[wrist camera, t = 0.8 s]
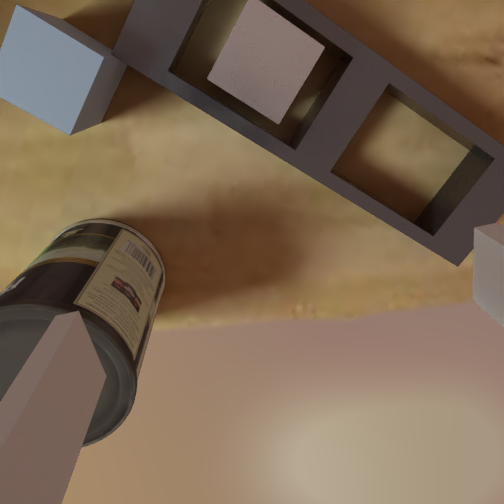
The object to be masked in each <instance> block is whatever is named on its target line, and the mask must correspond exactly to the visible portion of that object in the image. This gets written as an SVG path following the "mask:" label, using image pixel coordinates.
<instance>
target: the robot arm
mask: <svg viewBox="0 0 504 504" xmlns="http://www.w3.org/2000/svg"><path fill="white" fill-rule="evenodd" d="M473 301H474V302H475V303H477V304H478V305H479V306H480V307H481V308H482V309H483V310H484V311H485V312H486V313H488V314H489V315H490V316H491V317H492V318H493V319H494V320H495V321H496V322H497V323H498V324H500V325H501V326H502V327H503V328H504V226H502V225H500V224H499V223H493V224H489V225H484V226H479V227H474V253H473ZM106 377H107V376H106V374H105V372H104V369H103V367H102V365H101V362H100V360H99V358H98V355H97V353H96V350H95V348H94V346H93V343H92V341H91V339H90V336H89V334H88V332H87V329H86V327H85V325H84V322H83V320H82V317H81V315H80V313H79V311H75V312H71V313H66V314H61V315H56V316H55V318H54V319H53V321H52V322H51V324H50V325H49V327H48V329H47V330H46V332H45V333H44V335H43V336H42V338H41V339H40V341H39V343H38V344H37V346H36V347H35V349H34V350H33V352H32V353H31V355H30V356H29V358H28V360H27V361H26V363H25V364H24V366H23V367H22V369H21V370H20V372H19V374H18V375H17V377H16V378H15V380H14V381H13V383H12V384H11V386H10V388H9V389H8V391H7V392H6V394H5V395H4V397H3V398H2V400H1V401H0V504H61V503H62V501H63V498H64V495H65V492H66V489H67V487H68V484H69V481H70V478H71V475H72V472H73V470H74V467H75V464H76V461H77V458H78V456H79V453H80V450H81V447H82V444H83V441H84V439H85V436H86V433H87V430H88V427H89V425H90V422H91V419H92V416H93V413H94V410H95V408H96V405H97V402H98V399H99V396H100V393H101V391H102V388H103V385H104V382H105V379H106Z"/></svg>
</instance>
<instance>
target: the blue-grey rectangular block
mask: <svg viewBox="0 0 504 504" xmlns="http://www.w3.org/2000/svg"><path fill="white" fill-rule="evenodd" d="M112 51H113V50H111V49H110V48H108V47H107V46H105V45H103V44H102V43H100V42H98V41H97V40H95V39H94V38H92V37H90V36H89V35H87V34H86V33H84V32H82V31H81V30H79V29H77V28H76V27H74V26H73V25H71V24H69V23H68V22H66V21H64V20H63V19H60V18H57V17H54V16H51V15H48V14H45V13H42V12H39V11H36V10H33V9H30V8H26V7H23V6H20V5H16V7H15V10H14V13H13V16H12V19H11V21H10V24H9V27H8V30H7V32H6V35H5V38H4V41H3V44H2V46H1V49H0V97H1V98H2V99H4V100H6V101H8V102H10V103H11V104H13V105H15V106H17V107H19V108H21V109H22V110H24V111H26V112H28V113H30V114H32V115H33V116H35V117H37V118H39V119H41V120H42V121H44V122H46V123H48V124H50V125H52V126H53V127H55V128H57V129H59V130H61V131H62V132H64V133H66V134H68V135H72V134H75V133H77V132H80V131H82V130H85V129H87V128H90V127H92V126H95V125H97V124H100V123H101V122H102V120H103V117H104V115H105V113H106V111H107V109H108V107H109V104H110V102H111V100H112V98H113V96H114V94H115V91H116V89H117V87H118V85H119V83H120V80H121V78H122V76H123V74H124V72H125V70H126V67H127V64H125V63H124V62H122V61H120V60H119V59H117V58H115V57H114V56H112V55H111V53H112Z"/></svg>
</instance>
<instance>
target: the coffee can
mask: <svg viewBox="0 0 504 504" xmlns="http://www.w3.org/2000/svg"><path fill="white" fill-rule="evenodd" d="M164 288H165V269H164V265H163V262H162V259H161V256H160V255H159V253H158V251H157V250H156V248H155V247H154V246H153V244H152V243H151V242H150V241H149V240H148V239H147V238H146V237H145V236H144V235H142V234H141V233H140V232H138V231H137V230H135V229H133V228H131V227H129V226H128V225H125V224H122V223H119V222H116V221H111V220H103V219H96V220H87V221H82V222H78V223H76V224H73V225H71V226H69V227H68V228H66V229H64V230H63V231H62V232H61V233H59V234H58V235H57V236H56V237H55V238H54V240H53V241H52V243H51V244H50V245H49V246H48V247H47V248H46V249H45V250H44V251H43V252H42V253H41V254H40V255H39V256H38V257H37V258H36V259H35V260H34V261H33V262H32V263H31V264H30V265H29V266H28V267H27V268H26V269H25V270H24V271H23V272H22V273H21V274H20V275H19V276H18V277H17V278H16V279H15V280H14V281H12V282H11V283H10V285H8V286H7V287H6V288H5V289H4V291H2V292H1V293H0V401H1V400H2V398H3V397H4V395H5V394H6V392H7V391H8V389H9V388H10V386H11V384H12V383H13V381H14V380H15V378H16V377H17V375H18V374H19V372H20V370H21V369H22V367H23V366H24V364H25V363H26V361H27V360H28V358H29V356H30V355H31V353H32V352H33V350H34V349H35V347H36V346H37V344H38V343H39V341H40V339H41V338H42V336H43V335H44V333H45V332H46V330H47V329H48V327H49V325H50V324H51V322H52V321H53V319H54V318H55V316H56V315H61V314H66V313H71V312H75V311H79V313H80V315H81V317H82V320H83V322H84V325H85V327H86V329H87V332H88V334H89V336H90V339H91V341H92V343H93V346H94V348H95V350H96V353H97V355H98V358H99V360H100V362H101V365H102V367H103V369H104V372H105V374H106V376H107V377H106V379H105V382H104V385H103V388H102V391H101V393H100V396H99V399H98V402H97V405H96V408H95V410H94V413H93V416H92V419H91V422H90V425H89V427H88V430H87V433H86V436H85V439H84V441H83V444H82V447H85V446H88V445H90V444H93V443H96V442H98V441H100V440H102V439H104V438H105V437H107V436H108V435H110V434H111V433H113V432H114V431H115V430H116V429H117V428H118V427H119V426H120V425H121V424H122V423H123V422H124V420H125V419H126V418H127V416H128V415H129V413H130V411H131V409H132V406H133V404H134V400H135V396H136V390H137V380H138V376H139V373H140V369H141V366H142V362H143V359H144V354H145V351H146V348H147V344H148V341H149V337H150V333H151V330H152V327H153V323H154V319H155V316H156V312H157V308H158V305H159V301H160V299H161V297H162V294H163V291H164Z"/></svg>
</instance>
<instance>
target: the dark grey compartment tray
mask: <svg viewBox="0 0 504 504" xmlns="http://www.w3.org/2000/svg"><path fill="white" fill-rule="evenodd" d="M208 1H209V0H135V1H134V3H133V6H132V8H131V10H130V12H129V15H128V17H127V19H126V21H125V24H124V26H123V28H122V30H121V33H120V35H119V37H118V40H117V42H116V44H115V46H114V49H113V51H112V53H111V55H112V56H114V57H115V58H117V59H119V60H120V61H122V62H124V63H125V64H127V65H129V66H130V67H132V68H133V69H135V70H137V71H138V72H140V73H142V74H143V75H145V76H147V77H148V78H150V79H151V80H153V81H155V82H156V83H158V84H160V85H161V86H163V87H165V88H166V89H168V90H169V91H171V92H173V93H174V94H176V95H178V96H179V97H181V98H183V99H184V100H186V101H187V102H189V103H191V104H192V105H194V106H196V107H197V108H199V109H201V110H202V111H204V112H206V113H207V114H209V115H210V116H212V117H214V118H215V119H217V120H219V121H220V122H222V123H224V124H225V125H227V126H228V127H230V128H232V129H233V130H235V131H237V132H238V133H240V134H242V135H243V136H245V137H246V138H248V139H250V140H251V141H253V142H255V143H256V144H258V145H260V146H261V147H263V148H264V149H266V150H268V151H269V152H271V153H273V154H274V155H276V156H278V157H279V158H281V159H282V160H284V161H286V162H287V163H289V164H291V165H292V166H294V167H296V168H297V169H299V170H300V171H302V172H304V173H305V174H307V175H309V176H310V177H312V178H314V179H315V180H317V181H318V182H320V183H322V184H323V185H325V186H327V187H328V188H330V189H332V190H333V191H335V192H336V193H338V194H340V195H341V196H343V197H345V198H346V199H348V200H350V201H351V202H353V203H354V204H356V205H358V206H359V207H361V208H363V209H364V210H366V211H368V212H369V213H371V214H372V215H374V216H376V217H377V218H379V219H381V220H382V221H384V222H386V223H387V224H389V225H390V226H392V227H394V228H395V229H397V230H399V231H400V232H402V233H404V234H405V235H407V236H408V237H410V238H412V239H413V240H415V241H417V242H418V243H420V244H422V245H423V246H425V247H426V248H428V249H430V250H431V251H433V252H435V253H436V254H438V255H440V256H441V257H443V258H444V259H446V260H448V261H449V262H451V263H453V264H454V265H456V266H459V265H460V264H461V262H462V261H463V260H464V259H465V258H466V256H467V255H468V254H469V253H470V252H471V251H472V249H473V248H474V227H479V226H484V225H489V224H493V223H495V222H496V221H497V220H498V218H499V217H500V216H501V215H502V214H503V212H504V146H503V145H502V144H500V143H499V142H497V141H496V140H495V139H493V138H492V137H491V136H489V135H488V134H487V133H485V132H484V131H482V130H481V129H480V128H478V127H477V126H476V125H474V124H473V123H471V122H470V121H469V120H467V119H466V118H465V117H463V116H462V115H461V114H459V113H458V112H456V111H455V110H454V109H452V108H451V107H450V106H448V105H447V104H445V103H444V102H443V101H441V100H440V99H439V98H437V97H436V96H435V95H433V94H432V93H430V92H429V91H428V90H426V89H425V88H424V87H422V86H421V85H420V84H418V83H417V82H415V81H414V80H413V79H411V78H410V77H409V76H407V75H406V74H404V73H403V72H402V71H400V70H399V69H398V68H396V67H395V66H394V65H392V64H391V63H389V62H388V61H387V60H385V59H384V58H383V57H381V56H380V55H378V54H377V53H376V52H374V51H373V50H372V49H370V48H369V47H368V46H366V45H365V44H363V43H362V42H361V41H359V40H358V39H357V38H355V37H354V36H352V35H351V34H350V33H348V32H347V31H346V30H344V29H343V28H342V27H340V26H339V25H337V24H336V23H335V22H333V21H332V20H331V19H329V18H328V17H326V16H325V15H324V14H322V13H321V12H320V11H318V10H317V9H316V8H314V7H313V6H311V5H310V4H309V3H307V2H306V1H305V0H259V1H261V2H262V3H264V4H265V5H266V6H268V7H269V8H271V9H272V10H273V11H275V12H276V13H278V14H279V15H280V16H282V17H283V18H285V19H286V20H288V21H289V22H290V23H292V24H293V25H295V26H296V27H297V28H299V29H300V30H302V31H303V32H304V33H306V34H307V35H309V36H310V37H312V38H313V39H314V40H316V41H317V42H319V43H320V44H321V45H323V46H324V47H325V48H326V49H327V50H328V51H330V52H331V53H333V54H334V55H336V56H337V57H338V58H340V61H339V62H338V64H337V66H336V67H335V69H334V70H333V72H332V74H331V75H330V77H329V79H328V80H327V82H326V83H325V85H324V87H323V88H322V90H321V91H320V93H319V95H318V96H317V98H316V100H315V101H314V103H313V104H312V106H311V108H310V109H309V111H308V113H307V114H306V116H305V117H304V119H303V121H302V122H301V124H300V125H299V127H298V129H297V130H296V132H295V134H294V135H293V137H292V138H291V140H290V142H289V143H288V142H286V141H285V140H283V139H282V138H280V137H278V136H277V135H275V134H274V133H272V132H270V131H269V130H267V129H266V128H264V127H262V126H261V125H259V124H258V123H256V122H254V121H253V120H251V119H250V118H248V117H246V116H245V115H243V114H242V113H240V112H238V111H237V110H235V109H234V108H232V107H230V106H229V105H227V104H225V103H224V102H222V101H221V100H219V99H217V98H216V97H214V96H213V95H211V94H209V93H208V92H206V91H205V90H203V89H201V88H200V87H198V86H197V85H195V84H193V83H192V82H190V81H189V80H187V79H185V78H184V77H182V76H181V75H179V74H177V73H176V72H174V69H175V67H176V65H177V63H178V61H179V59H180V57H181V55H182V53H183V51H184V49H185V47H186V45H187V43H188V41H189V39H190V37H191V35H192V33H193V31H194V29H195V27H196V25H197V23H198V21H199V19H200V17H201V15H202V13H203V11H204V9H205V7H206V5H207V3H208ZM384 90H385V91H386V92H388V93H389V94H391V95H392V96H393V97H395V98H396V99H398V100H399V101H401V102H402V103H403V104H405V105H406V106H408V107H409V108H410V109H412V110H413V111H415V112H416V113H417V114H419V115H420V116H422V117H423V118H425V119H426V120H427V121H429V122H430V123H432V124H433V125H434V126H436V127H437V128H439V129H440V130H441V131H443V132H444V133H446V134H447V135H449V136H450V137H451V138H453V139H454V140H456V141H457V142H458V143H460V144H461V145H463V146H464V147H466V148H467V149H468V150H470V151H469V153H468V154H467V155H466V157H465V158H464V159H463V161H462V162H461V163H460V164H459V166H458V167H457V168H456V170H455V171H454V172H453V173H452V175H451V176H450V177H449V179H448V180H447V181H446V183H445V184H444V185H443V186H442V188H441V189H440V190H439V192H438V193H437V194H436V196H435V197H434V198H433V199H432V201H431V202H430V203H429V205H428V206H427V207H426V209H425V210H424V211H423V212H422V214H421V215H420V216H419V218H418V219H417V220H416V222H414V221H413V220H411V219H410V218H408V217H406V216H405V215H403V214H402V213H400V212H398V211H397V210H395V209H394V208H392V207H390V206H389V205H387V204H386V203H384V202H382V201H381V200H379V199H378V198H376V197H374V196H373V195H371V194H370V193H368V192H366V191H365V190H363V189H362V188H360V187H358V186H357V185H355V184H354V183H352V182H350V181H349V180H347V179H346V178H344V177H342V176H341V175H339V174H338V173H336V172H334V171H333V170H331V169H332V168H333V166H334V165H335V163H336V162H337V160H338V159H339V157H340V156H341V154H342V153H343V151H344V150H345V148H346V147H347V145H348V144H349V142H350V141H351V139H352V138H353V136H354V135H355V133H356V132H357V130H358V129H359V127H360V126H361V124H362V123H363V121H364V120H365V118H366V117H367V115H368V114H369V112H370V111H371V109H372V108H373V106H374V105H375V103H376V102H377V100H378V99H379V97H380V96H381V94H382V93H383V91H384Z"/></svg>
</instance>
